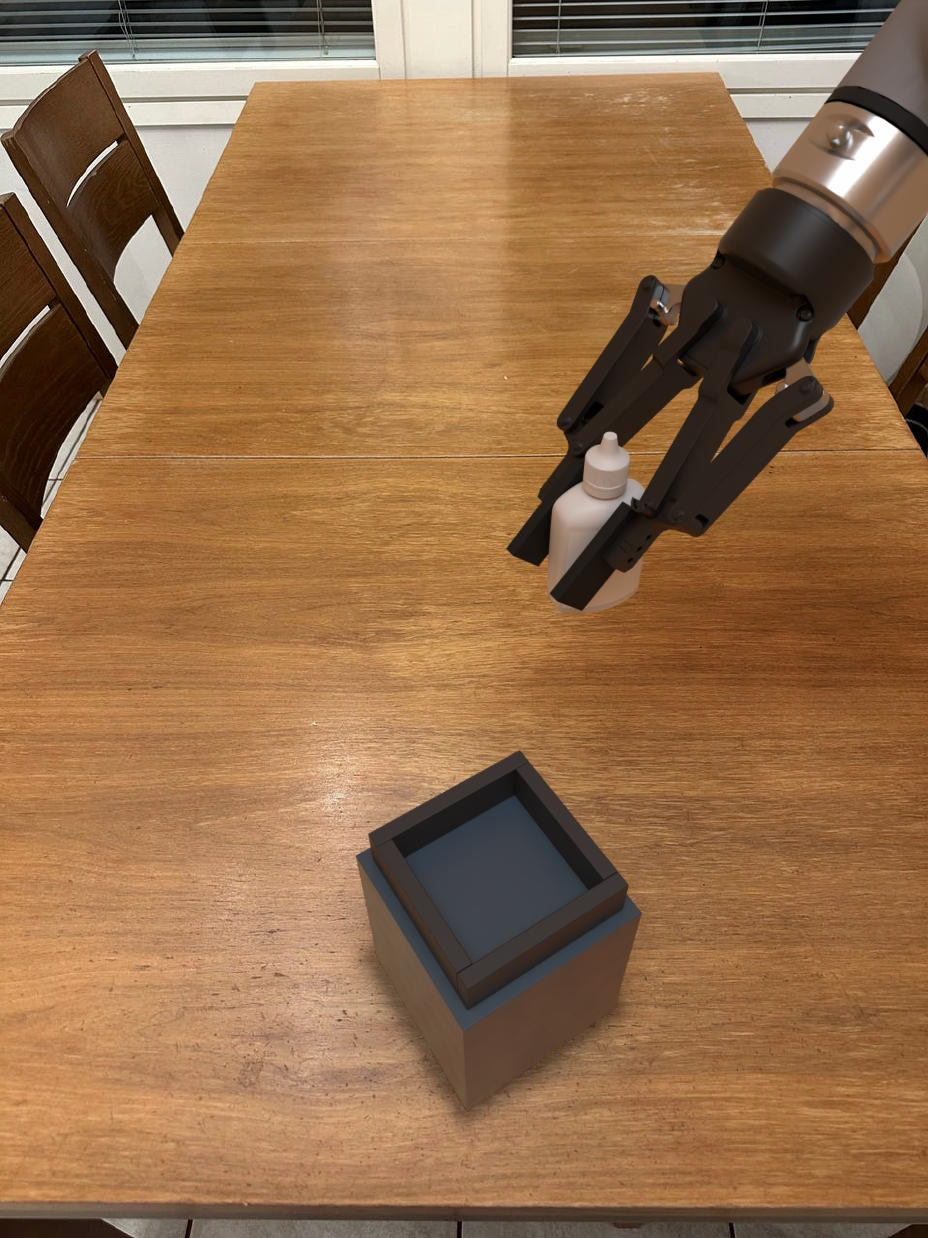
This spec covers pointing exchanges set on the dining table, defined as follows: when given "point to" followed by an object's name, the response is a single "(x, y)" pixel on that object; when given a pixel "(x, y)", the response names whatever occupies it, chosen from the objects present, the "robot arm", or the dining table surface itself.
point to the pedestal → (497, 924)
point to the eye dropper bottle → (593, 522)
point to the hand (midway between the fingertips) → (544, 578)
